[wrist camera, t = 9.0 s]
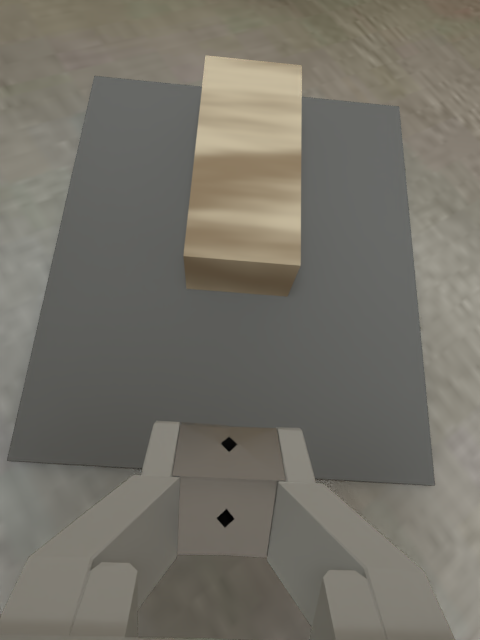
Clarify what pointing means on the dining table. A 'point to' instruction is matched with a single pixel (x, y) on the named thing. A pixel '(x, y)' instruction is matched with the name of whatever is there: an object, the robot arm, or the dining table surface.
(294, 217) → the birch block
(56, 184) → the dining table surface
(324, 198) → the rubber mat
